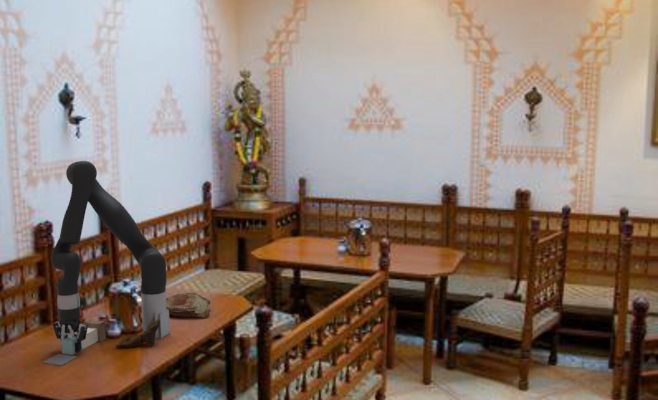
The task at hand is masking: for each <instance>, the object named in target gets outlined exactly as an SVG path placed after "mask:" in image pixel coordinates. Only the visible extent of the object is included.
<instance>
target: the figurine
mask: <svg viewBox="0 0 658 400" xmlns="http://www.w3.org/2000/svg"><path fill="white" fill-rule="evenodd" d="M79 298H80V313H81V316H80V322H81V324H83V325H84V322H85V321H86V318H85V316H84V312H83V310H84V309H85V304H86V300H87V299H86V297H84V296H80V295H79Z"/></svg>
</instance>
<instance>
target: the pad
mask: <svg viewBox="0 0 658 400" xmlns="http://www.w3.org/2000/svg"><path fill="white" fill-rule="evenodd" d="M77 358H78V356H76V355H70V354H63V353H62V354H61V353H58V354H56V355H54V356H52V357H50V358H48V359H46V360H44V361H43V362H42V363H43V364H49V365H55V366H64V365H66V364H68V363H70V362H72V361H73V360H75V359H77Z"/></svg>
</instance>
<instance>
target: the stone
mask: <svg viewBox="0 0 658 400" xmlns="http://www.w3.org/2000/svg"><path fill="white" fill-rule="evenodd" d="M210 305H211V299H210V297H207V296H204V295H202V294H198V293H197V292H185V293H182V292H181V293H177V294H174V295H171V296H169V297H166V308H167V309H168V310H169V316H170V315H171V316H175V317H196V318H203V319H205V318H207V316H208V314H209V312H210Z"/></svg>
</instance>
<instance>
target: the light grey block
mask: <svg viewBox="0 0 658 400" xmlns="http://www.w3.org/2000/svg"><path fill="white" fill-rule="evenodd" d="M84 325H88V329H87V334H86V339H85V340H83V341H81V347H82V350H85V349H86V348H88V347H89V346H92V345H93V344H96V343H97V342H100V343H101V342H103V341H105V340H106V339H107V337H106V321H105V320H92V319H87V320H85V322H84Z"/></svg>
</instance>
